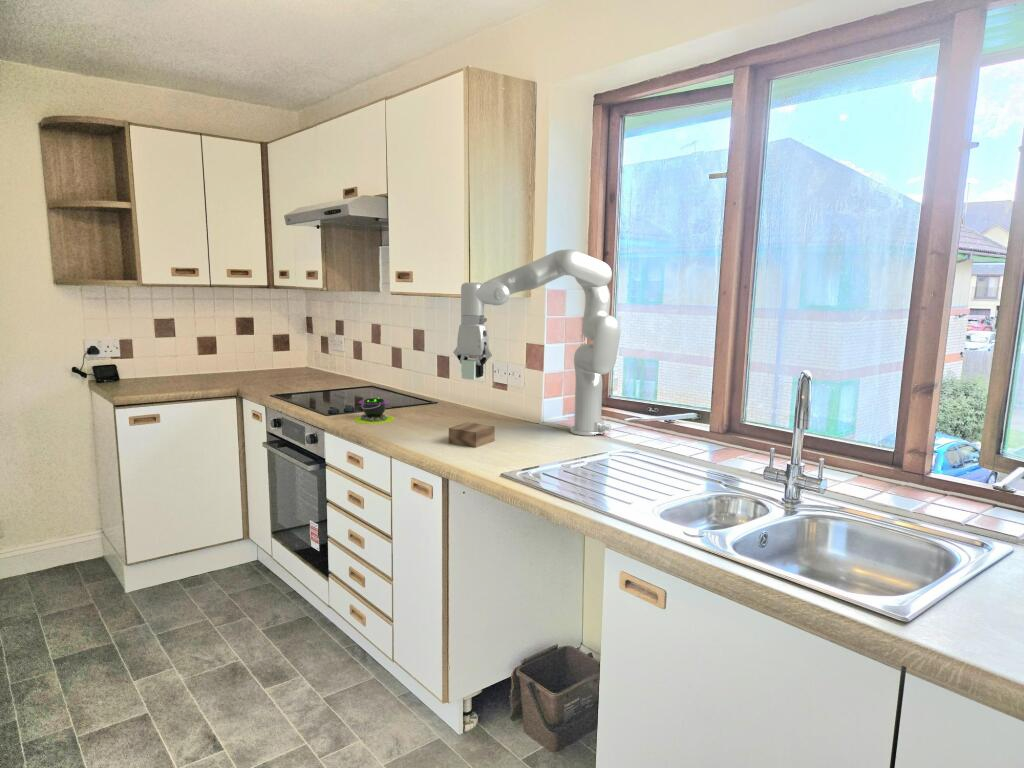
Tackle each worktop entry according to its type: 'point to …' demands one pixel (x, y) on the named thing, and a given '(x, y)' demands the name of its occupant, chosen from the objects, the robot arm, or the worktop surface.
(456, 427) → the block
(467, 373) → the sage block
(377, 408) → the toy cauldron
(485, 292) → the robot arm
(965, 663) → the worktop surface
